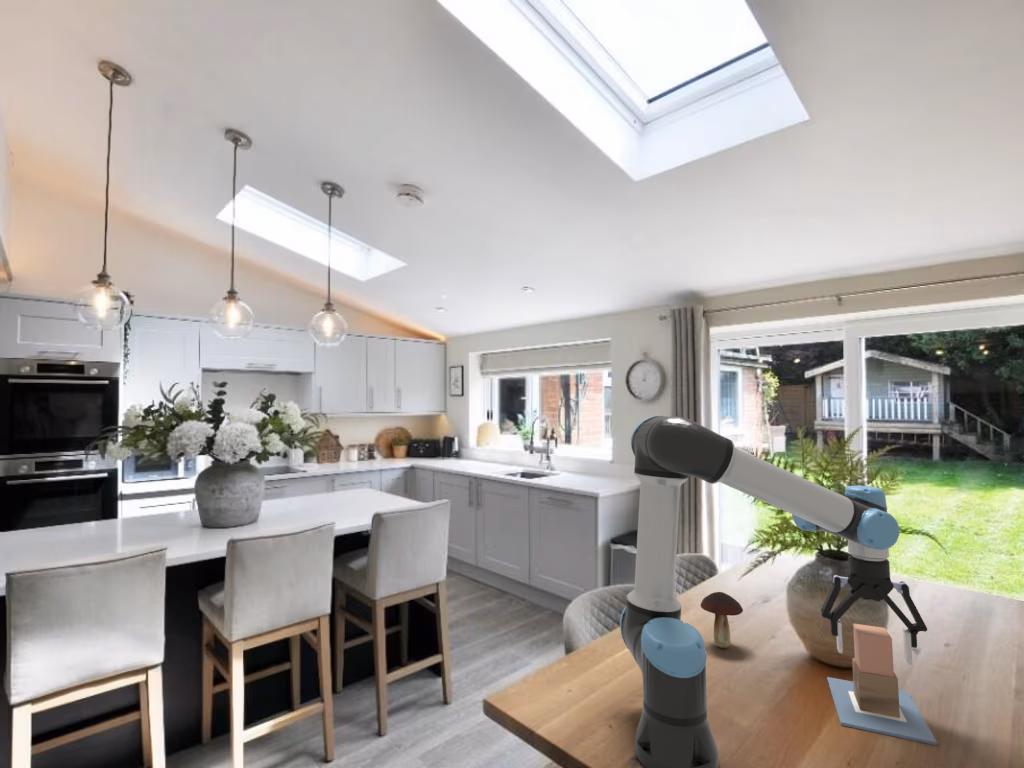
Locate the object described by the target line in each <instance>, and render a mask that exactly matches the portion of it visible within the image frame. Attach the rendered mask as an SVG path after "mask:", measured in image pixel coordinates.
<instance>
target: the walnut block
mask: <svg viewBox="0 0 1024 768" xmlns="http://www.w3.org/2000/svg"><path fill="white" fill-rule="evenodd" d="M851 660H852V661H851V662H852V682H853V684H854V695H855V698H856V701H857V703H858V706H859V708H860V710H861V711H866V712H871V713H877V714H882V715H887V716H892V717H897V718H900V710H899V691H898V690H899V678H898V677H897V675H896V673H895V672H894V677H889V676H883V675H878V674H872V673H866V672H860V670H859V667H858V665H857V663H856V661H855V657H852V658H851Z"/></svg>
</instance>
